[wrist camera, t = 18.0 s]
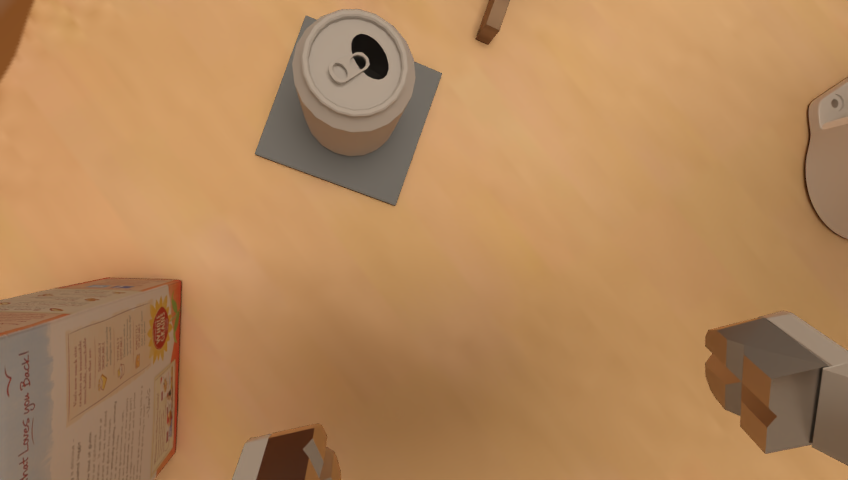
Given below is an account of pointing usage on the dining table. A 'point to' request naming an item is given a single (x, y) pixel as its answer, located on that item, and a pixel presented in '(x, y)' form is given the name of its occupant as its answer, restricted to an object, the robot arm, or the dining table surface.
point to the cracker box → (90, 380)
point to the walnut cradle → (492, 20)
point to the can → (352, 80)
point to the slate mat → (364, 174)
